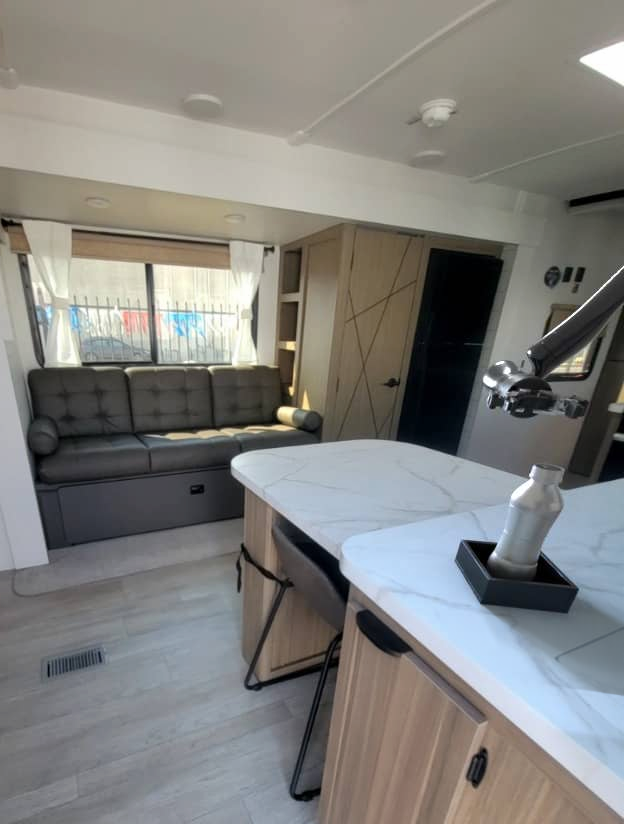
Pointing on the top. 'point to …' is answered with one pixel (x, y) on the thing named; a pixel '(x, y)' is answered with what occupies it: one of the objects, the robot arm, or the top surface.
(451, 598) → the top surface
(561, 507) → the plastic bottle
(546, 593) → the dark square tray
